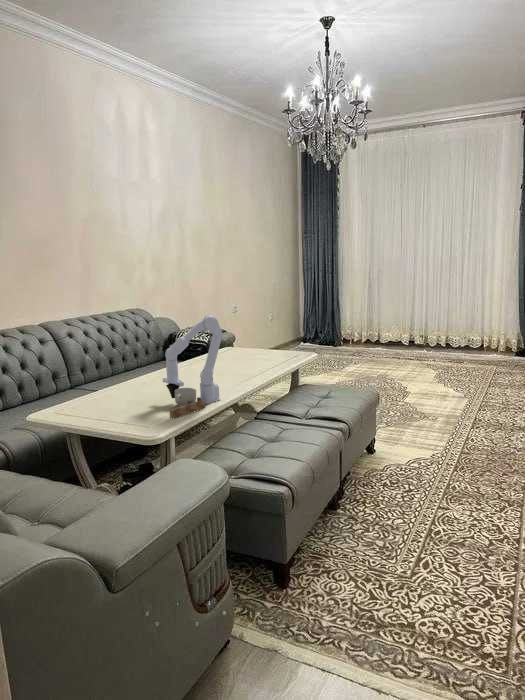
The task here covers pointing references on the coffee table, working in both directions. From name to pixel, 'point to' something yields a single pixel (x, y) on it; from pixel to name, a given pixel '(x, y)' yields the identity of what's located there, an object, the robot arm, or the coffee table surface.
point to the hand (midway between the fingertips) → (174, 397)
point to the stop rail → (187, 408)
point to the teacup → (185, 396)
